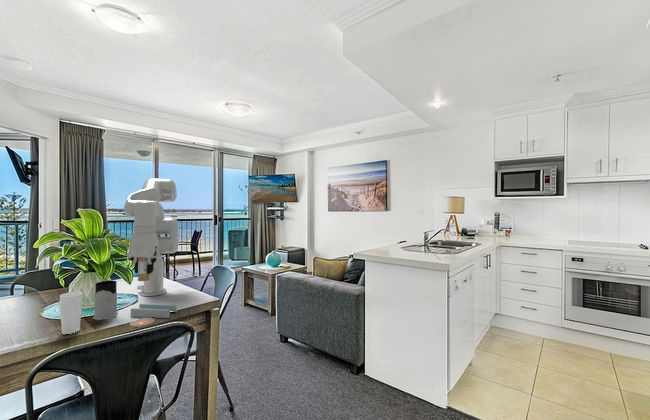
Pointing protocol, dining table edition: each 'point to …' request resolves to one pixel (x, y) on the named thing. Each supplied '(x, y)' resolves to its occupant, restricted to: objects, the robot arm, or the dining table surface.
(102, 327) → the dining table surface
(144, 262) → the sprinkles bottle
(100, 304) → the glass holder
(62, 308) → the drinking glass
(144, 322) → the resting disc
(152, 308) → the acrylic walls
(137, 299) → the dining table surface
